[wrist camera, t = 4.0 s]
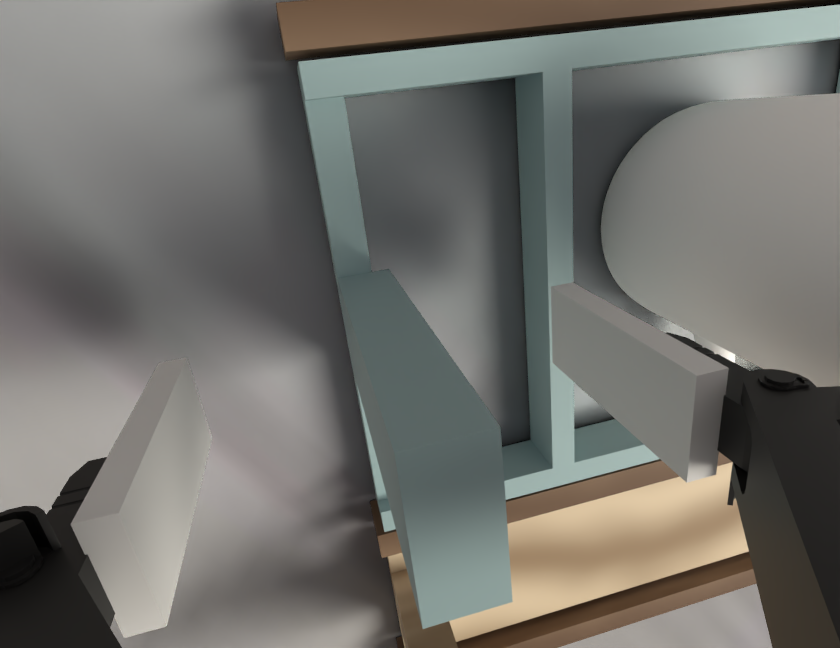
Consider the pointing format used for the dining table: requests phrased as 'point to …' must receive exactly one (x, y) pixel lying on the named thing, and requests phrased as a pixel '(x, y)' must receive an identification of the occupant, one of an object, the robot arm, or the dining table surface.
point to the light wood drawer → (593, 553)
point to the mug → (737, 229)
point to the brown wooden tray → (541, 636)
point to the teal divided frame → (543, 268)
